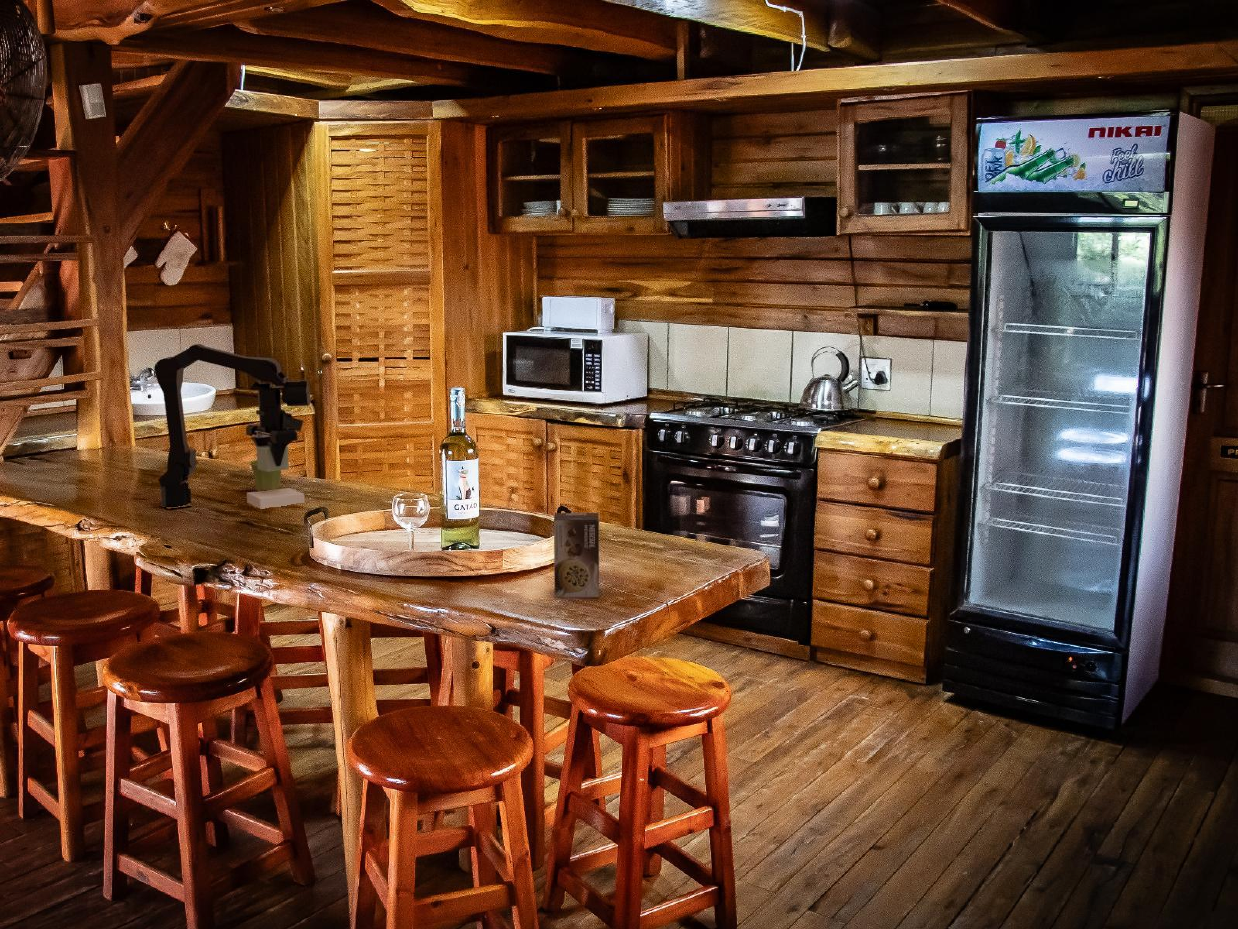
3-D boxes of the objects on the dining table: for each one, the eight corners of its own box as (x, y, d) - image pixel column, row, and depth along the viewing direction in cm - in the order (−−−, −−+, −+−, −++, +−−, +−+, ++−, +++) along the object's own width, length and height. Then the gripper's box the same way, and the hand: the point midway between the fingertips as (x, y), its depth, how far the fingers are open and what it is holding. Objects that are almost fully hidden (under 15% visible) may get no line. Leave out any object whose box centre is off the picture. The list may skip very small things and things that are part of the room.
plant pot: (292, 491, 340) (291, 461, 338) (266, 496, 332) (265, 466, 330) (269, 488, 344) (268, 458, 343) (243, 493, 337) (242, 462, 335)
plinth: (260, 513, 312) (260, 499, 311) (247, 507, 320) (246, 492, 319) (304, 508, 319) (304, 494, 318) (290, 502, 327) (290, 488, 326)
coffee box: (598, 589, 243) (599, 512, 241) (599, 598, 237) (600, 519, 234) (553, 589, 243) (554, 511, 240) (553, 598, 237) (553, 518, 234)
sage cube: (267, 471, 313) (266, 449, 312) (257, 468, 318) (256, 446, 317) (288, 469, 317) (287, 446, 316) (278, 466, 322) (277, 444, 321)
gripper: (314, 407, 313) (317, 465, 316) (282, 400, 327) (285, 457, 329) (275, 410, 306) (278, 470, 308) (243, 404, 319) (246, 461, 322)
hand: (273, 464), depth 317 cm, fingers closed on sage cube, 6 cm apart
